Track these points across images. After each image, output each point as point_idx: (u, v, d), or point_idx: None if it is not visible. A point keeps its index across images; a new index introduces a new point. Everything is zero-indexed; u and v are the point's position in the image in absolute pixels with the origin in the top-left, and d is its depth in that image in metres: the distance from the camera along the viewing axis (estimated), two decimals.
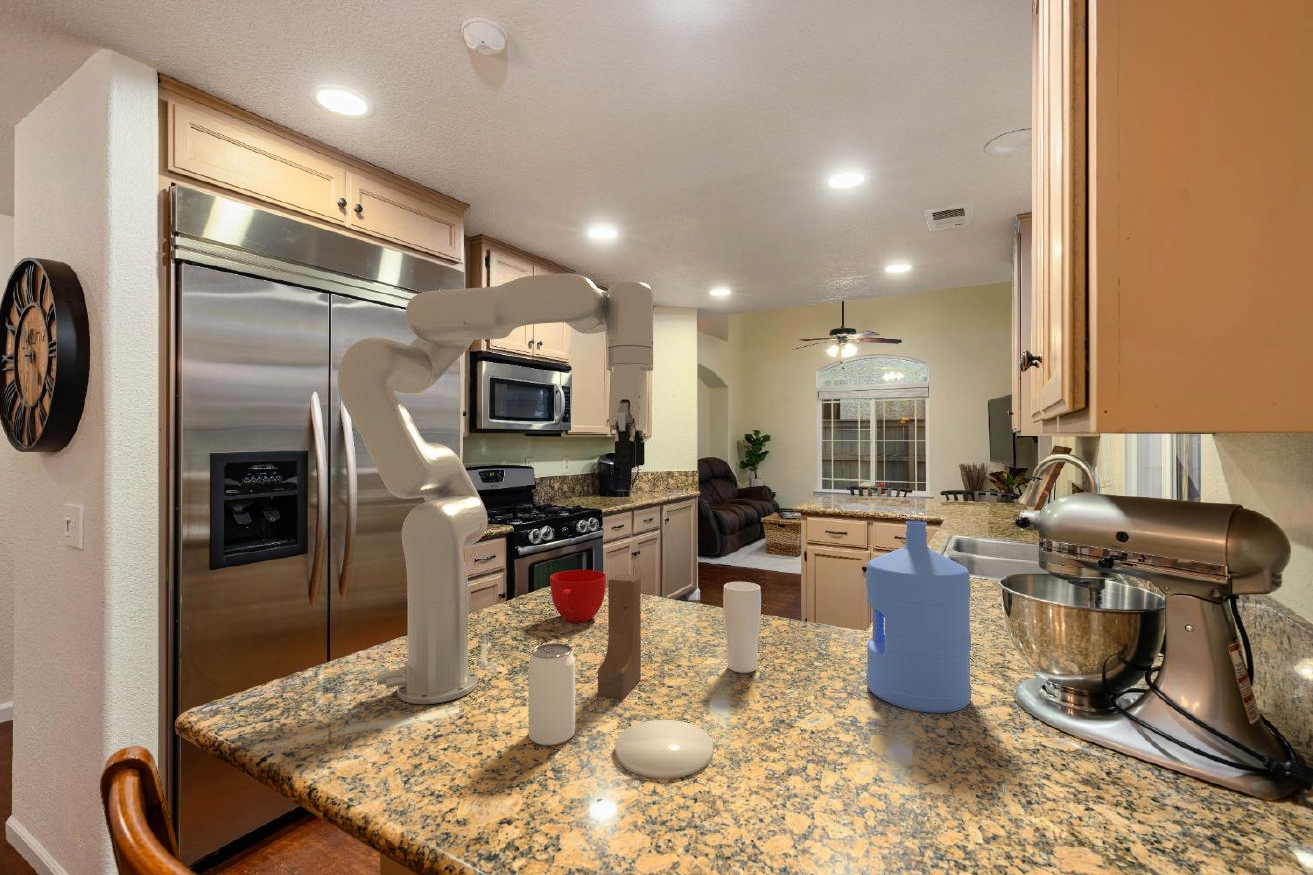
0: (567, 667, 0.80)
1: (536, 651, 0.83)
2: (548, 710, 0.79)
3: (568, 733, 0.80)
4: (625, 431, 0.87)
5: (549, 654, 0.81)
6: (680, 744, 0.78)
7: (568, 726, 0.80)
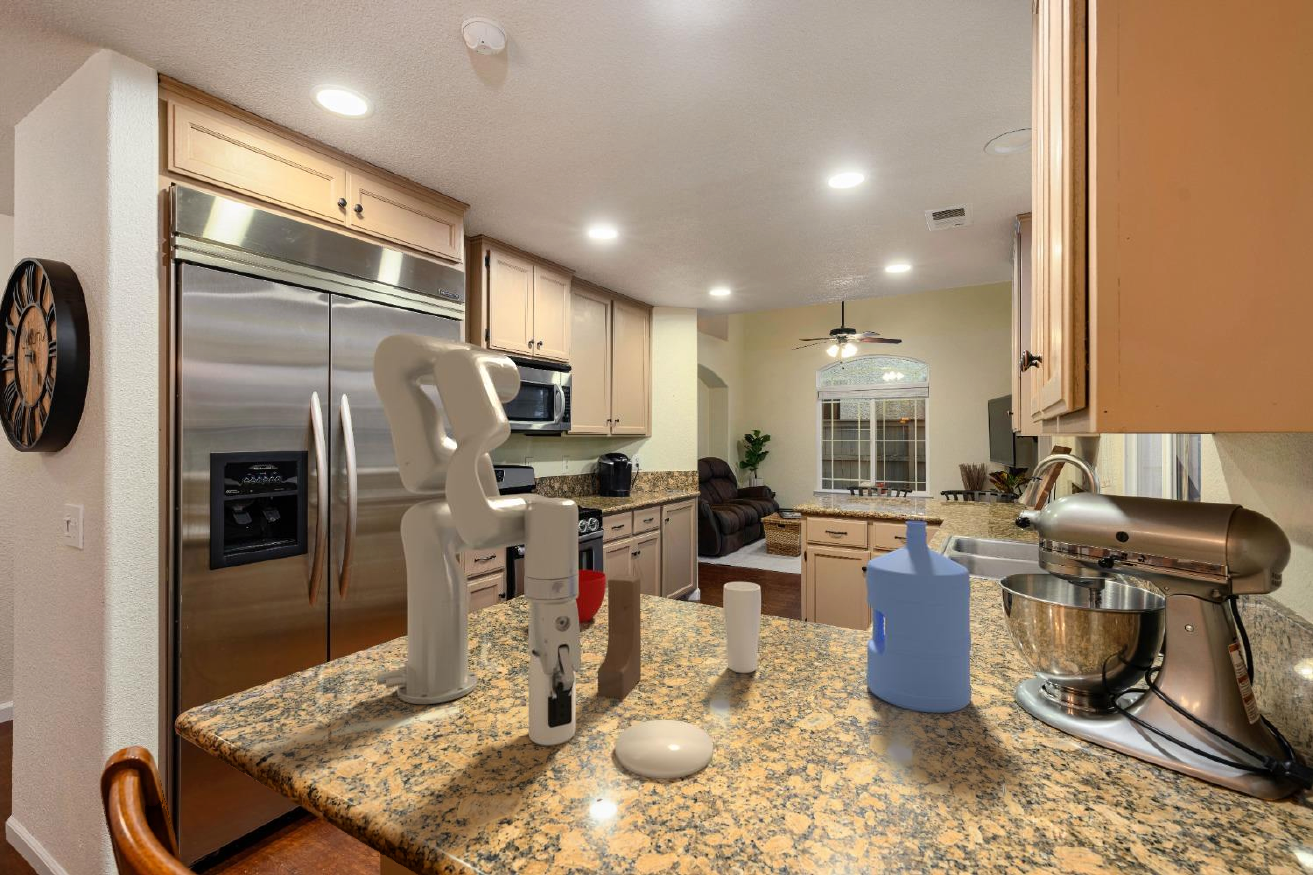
0: None
1: None
2: None
3: (568, 733, 0.80)
4: None
5: None
6: (680, 744, 0.78)
7: (568, 726, 0.80)
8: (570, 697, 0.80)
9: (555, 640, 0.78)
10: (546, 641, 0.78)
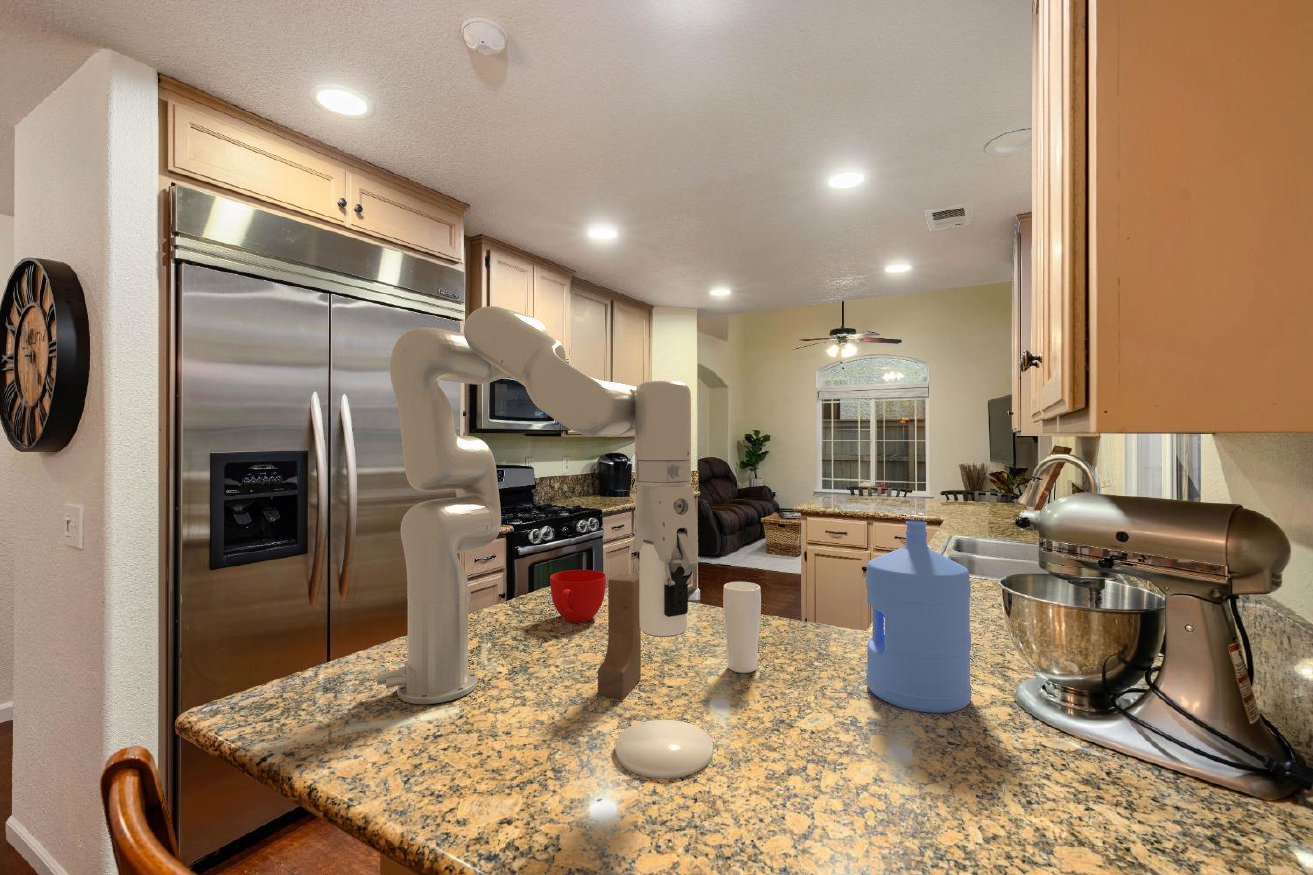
0: None
1: None
2: None
3: (683, 625, 0.76)
4: None
5: None
6: (680, 744, 0.78)
7: (683, 618, 0.76)
8: (686, 586, 0.76)
9: (674, 523, 0.74)
10: (664, 524, 0.74)
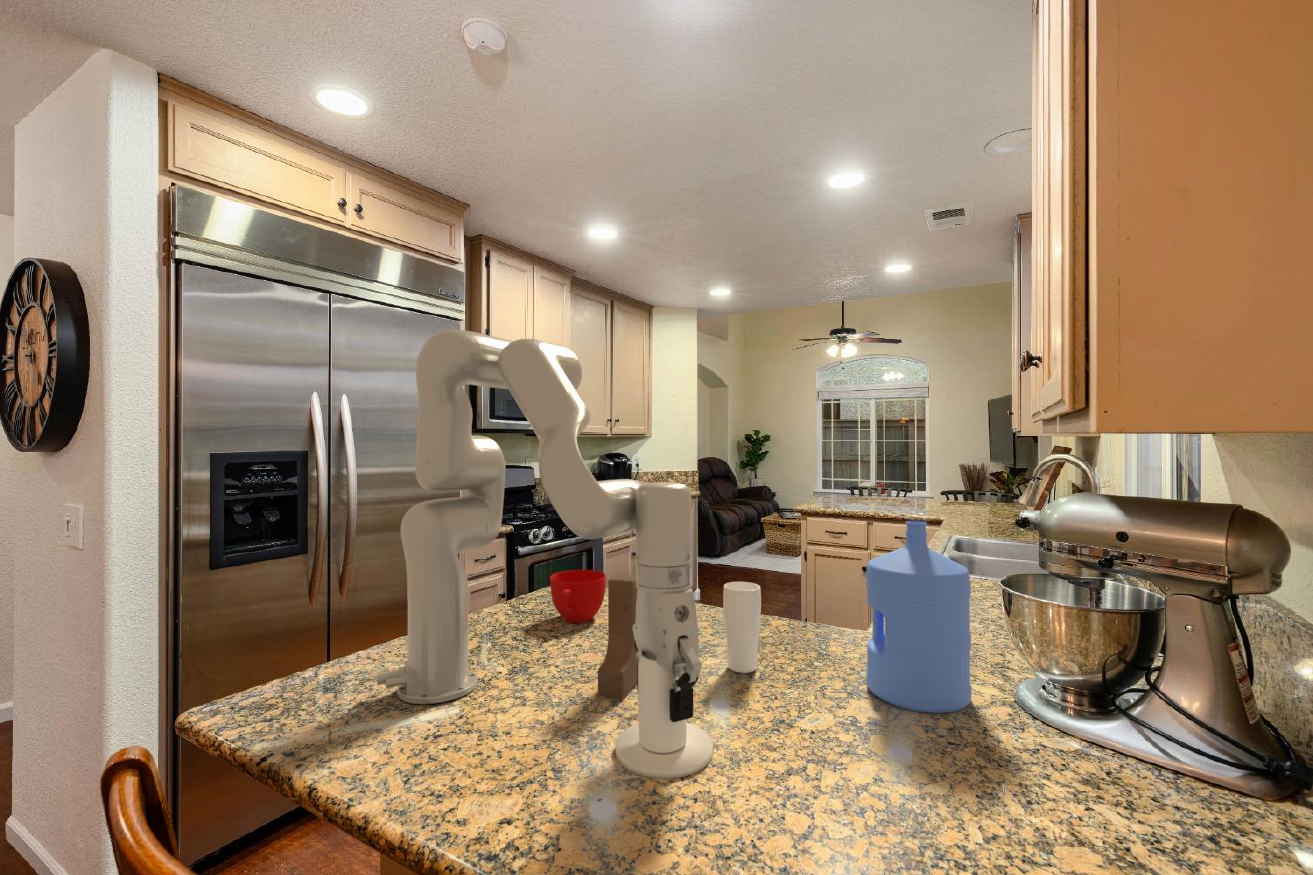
0: (681, 670, 0.76)
1: None
2: (663, 715, 0.75)
3: (682, 740, 0.76)
4: None
5: None
6: None
7: (682, 733, 0.76)
8: (692, 690, 0.74)
9: (675, 631, 0.73)
10: (665, 632, 0.74)
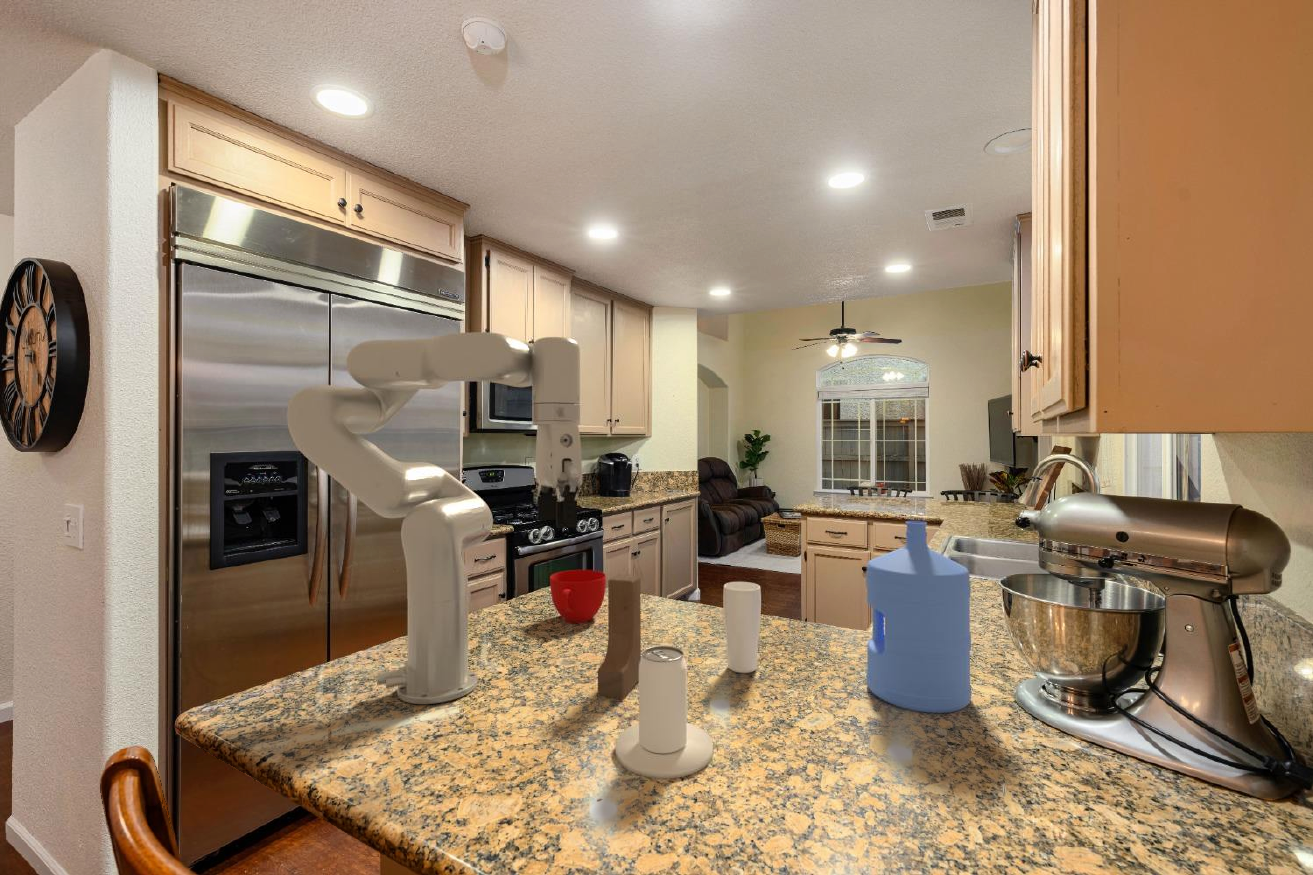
0: (682, 671, 0.76)
1: (646, 654, 0.78)
2: (663, 716, 0.75)
3: (682, 741, 0.76)
4: None
5: (661, 657, 0.77)
6: None
7: (683, 733, 0.76)
8: (576, 504, 0.89)
9: (559, 454, 0.88)
10: (552, 455, 0.89)
